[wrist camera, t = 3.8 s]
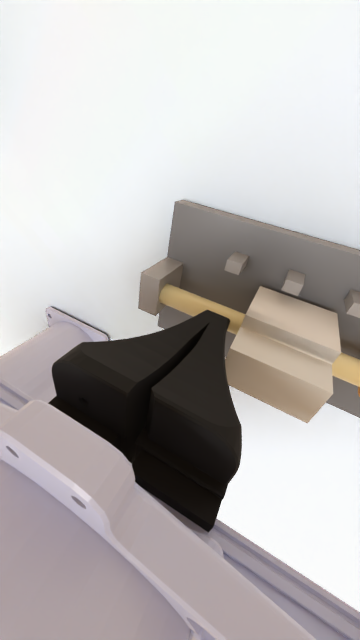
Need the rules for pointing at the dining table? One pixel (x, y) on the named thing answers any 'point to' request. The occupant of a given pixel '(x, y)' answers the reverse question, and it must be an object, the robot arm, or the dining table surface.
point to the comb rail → (256, 280)
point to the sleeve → (285, 354)
